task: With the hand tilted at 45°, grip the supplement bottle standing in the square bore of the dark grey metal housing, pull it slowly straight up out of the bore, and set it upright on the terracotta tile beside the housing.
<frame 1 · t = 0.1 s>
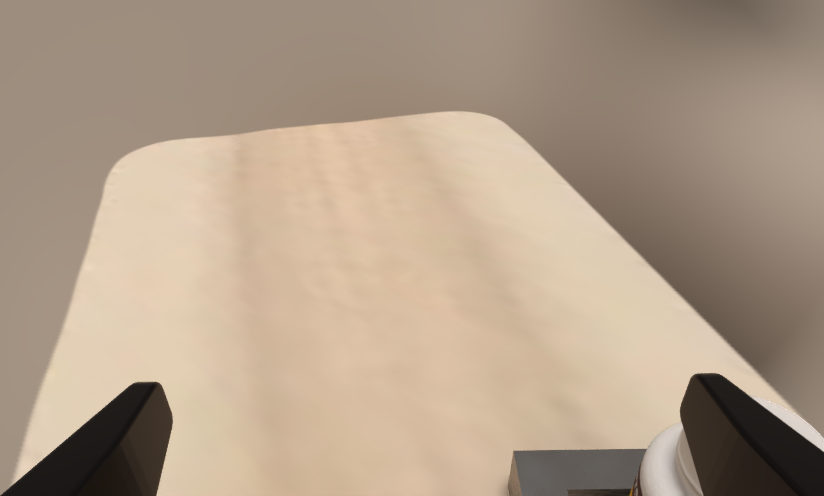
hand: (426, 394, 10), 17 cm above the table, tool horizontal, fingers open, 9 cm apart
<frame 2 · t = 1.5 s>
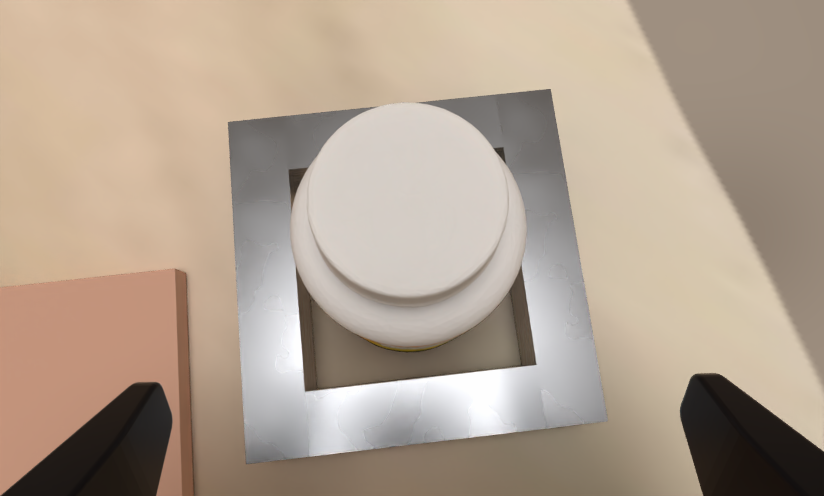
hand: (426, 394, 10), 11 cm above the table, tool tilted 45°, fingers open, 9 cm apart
housing: (408, 276, 21), on the table
supplement bottle: (408, 277, 21), resting in housing
tile: (14, 466, 20), on the table
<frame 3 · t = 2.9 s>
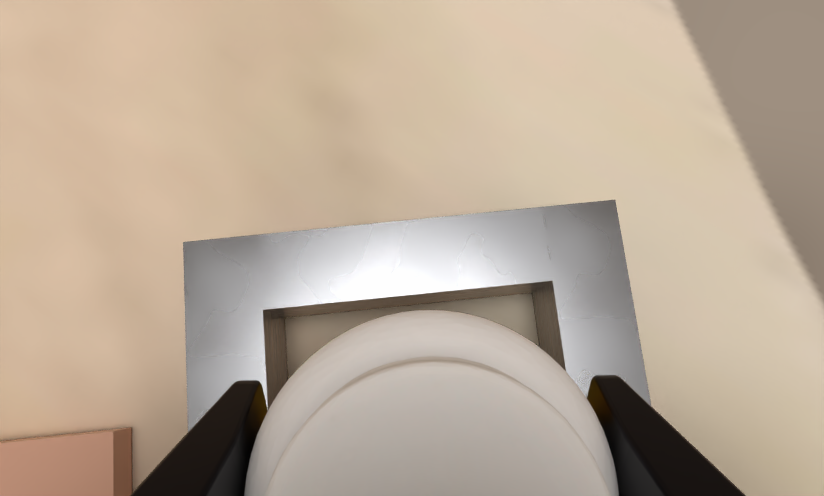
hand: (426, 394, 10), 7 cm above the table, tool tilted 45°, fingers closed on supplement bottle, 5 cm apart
housing: (421, 434, 16), on the table
supplement bottle: (421, 433, 16), resting in housing, touching gripper
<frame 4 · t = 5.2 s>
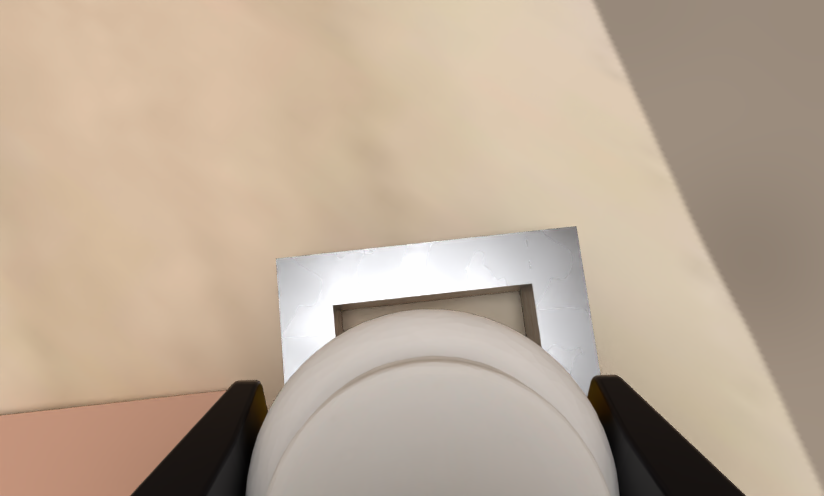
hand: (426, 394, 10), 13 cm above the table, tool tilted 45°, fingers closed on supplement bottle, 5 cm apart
housing: (441, 392, 23), on the table
supplement bottle: (422, 431, 16), point 6 cm above the table, touching gripper
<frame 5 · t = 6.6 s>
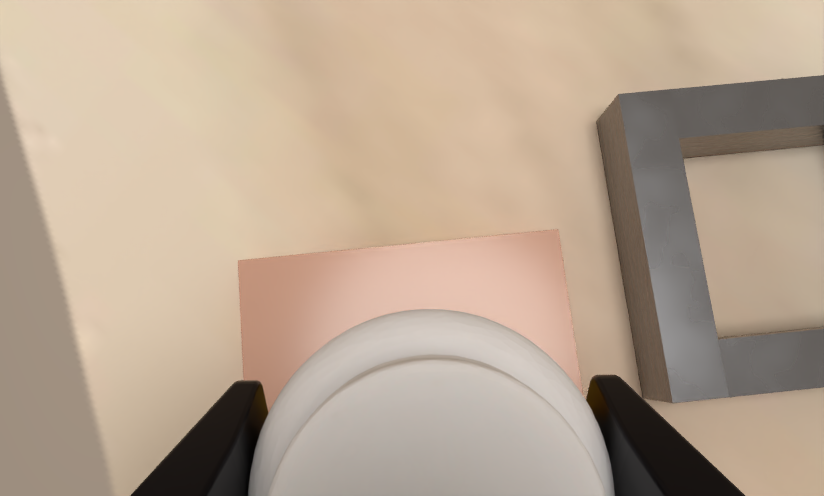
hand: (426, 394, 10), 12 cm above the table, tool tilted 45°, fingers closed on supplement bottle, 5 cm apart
housing: (756, 239, 23), on the table
supplement bottle: (421, 430, 17), point 5 cm above the table, touching gripper
tile: (415, 407, 22), on the table
when the fingers open (9 cm above the table, at t = 7.7 s): supplement bottle stays where it is, resting on tile.
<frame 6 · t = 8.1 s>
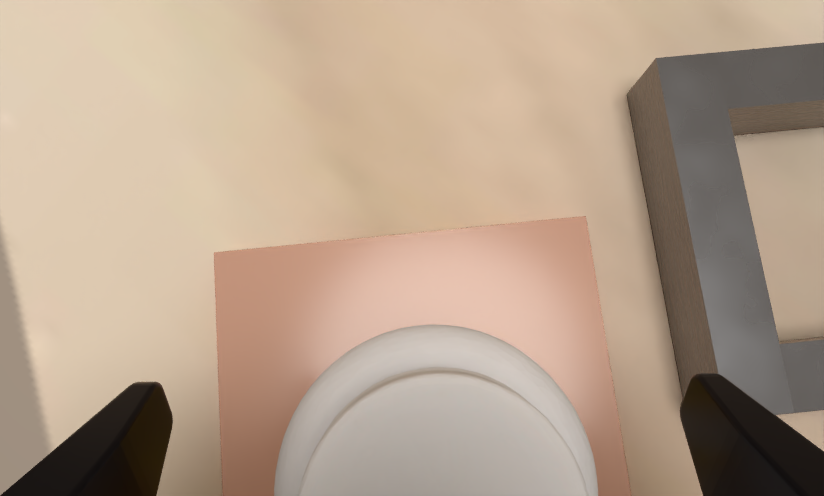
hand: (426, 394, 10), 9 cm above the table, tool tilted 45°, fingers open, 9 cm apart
housing: (814, 228, 20), on the table
supplement bottle: (423, 430, 18), point 1 cm above the table, touching tile
tile: (419, 424, 19), on the table
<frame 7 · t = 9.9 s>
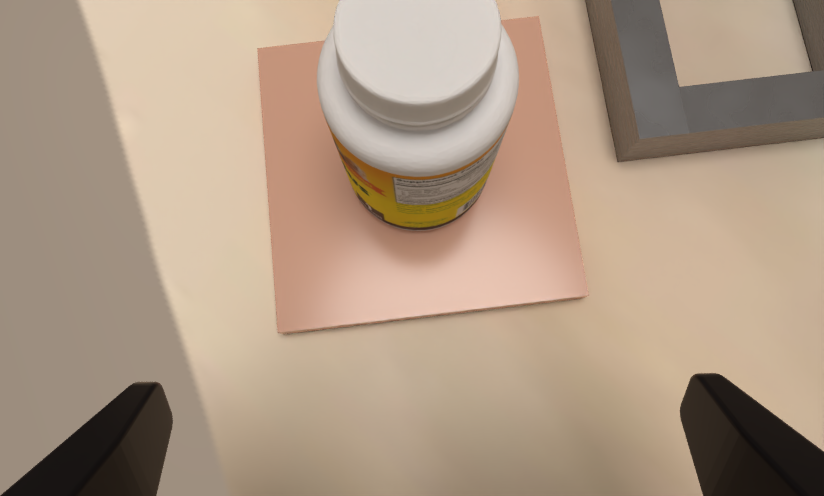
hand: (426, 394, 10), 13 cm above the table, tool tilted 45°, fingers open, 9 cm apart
housing: (718, 29, 26), on the table
supplement bottle: (417, 170, 24), point 1 cm above the table, touching tile
tile: (415, 174, 25), on the table
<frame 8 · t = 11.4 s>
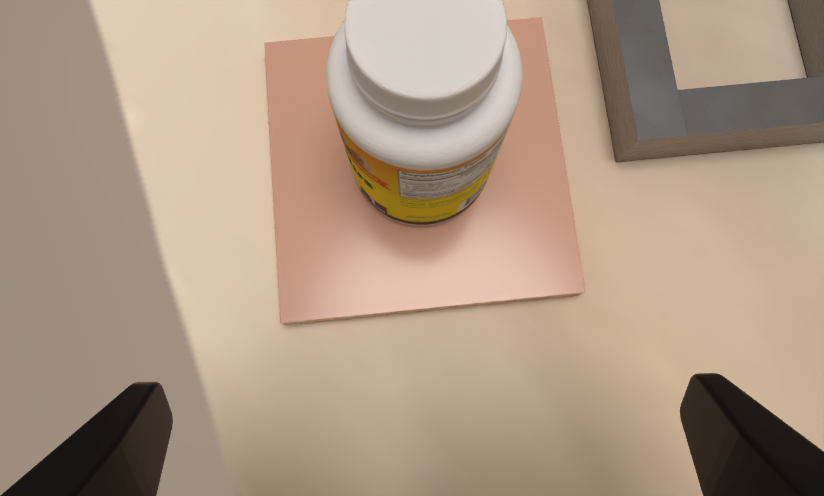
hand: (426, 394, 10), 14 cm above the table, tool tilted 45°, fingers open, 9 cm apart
housing: (716, 34, 26), on the table
supplement bottle: (420, 166, 24), point 1 cm above the table, touching tile
tile: (417, 169, 25), on the table
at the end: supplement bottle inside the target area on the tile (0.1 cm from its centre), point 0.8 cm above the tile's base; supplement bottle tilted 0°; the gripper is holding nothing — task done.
